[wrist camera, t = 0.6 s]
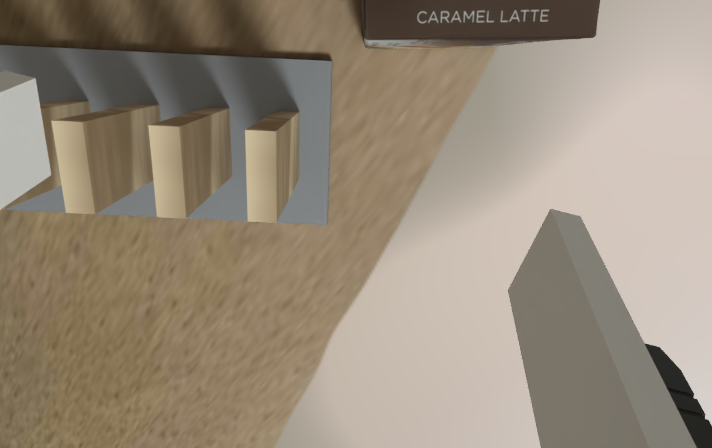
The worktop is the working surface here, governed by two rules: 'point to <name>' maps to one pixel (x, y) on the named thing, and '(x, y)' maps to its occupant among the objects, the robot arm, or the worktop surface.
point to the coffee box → (474, 22)
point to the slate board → (190, 93)
